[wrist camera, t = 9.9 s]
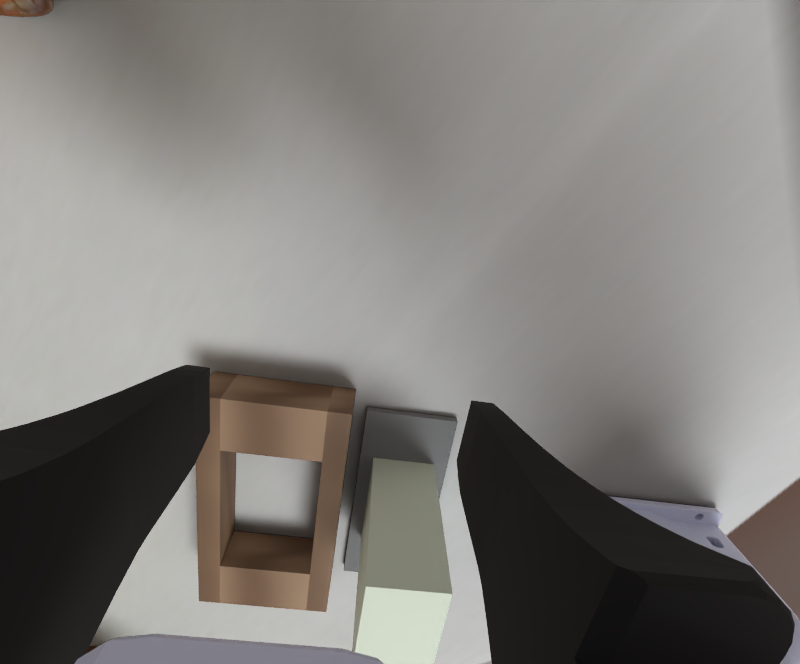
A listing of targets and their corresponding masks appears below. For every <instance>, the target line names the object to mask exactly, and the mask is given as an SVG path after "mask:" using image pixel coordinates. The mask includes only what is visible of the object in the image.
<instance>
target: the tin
mask: <svg viewBox="0 0 800 664" xmlns="http://www.w3.org/2000/svg"><path fill="white" fill-rule="evenodd" d="M52 9H53V0H0V15H6V16H18V17H29V16H42V15H45V14H48V13H50V12H51V11H52Z"/></svg>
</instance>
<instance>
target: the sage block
mask: <svg viewBox="0 0 800 664" xmlns="http://www.w3.org/2000/svg"><path fill="white" fill-rule="evenodd" d="M451 598H452V588H451V580H450V573H449V566H448V559H447V552H446V545H445V538H444V531H443V524H442V517H441V510H440V503H439V496H438V489H437V482H436V475H435V468H434V464H426V463H417V462H408V461H399V460H390V459H381V458H373V464H372V470H371V477H370V483H369V490H368V496H367V503H366V509H365V516H364V522H363V528H362V535H361V546H360V559H359V572H358V584H357V597H356V610H355V623H354V635H353V648H352V651H353V652H356V653H360V654H364V655H368V656H372V657H375V658H378V659H379V660H380V661H382V662H383V663H384V664H433V663H434V660H435V656H436V652H437V649H438V645H439V641H440V638H441V634H442V630H443V627H444V623H445V619H446V616H447V612H448V608H449V605H450V601H451Z"/></svg>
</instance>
